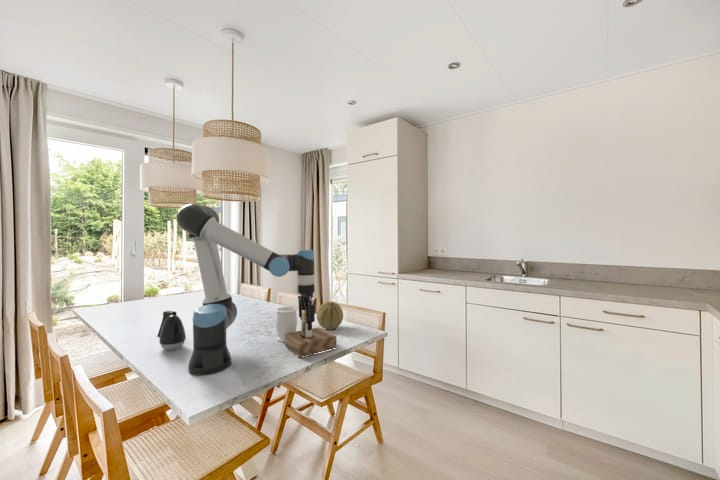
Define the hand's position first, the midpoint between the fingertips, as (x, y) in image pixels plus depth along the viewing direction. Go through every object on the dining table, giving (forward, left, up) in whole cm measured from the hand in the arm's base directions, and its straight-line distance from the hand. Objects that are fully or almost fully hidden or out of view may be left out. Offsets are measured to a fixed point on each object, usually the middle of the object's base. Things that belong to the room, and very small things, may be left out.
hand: (306, 335), depth 140 cm
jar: (-3, +17, -6) cm, 18 cm away
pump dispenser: (-50, +34, -6) cm, 61 cm away
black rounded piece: (-50, +57, -6) cm, 76 cm away
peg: (0, 0, -1) cm, 1 cm away
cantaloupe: (+23, +20, -6) cm, 31 cm away
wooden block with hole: (+2, 0, -6) cm, 6 cm away
